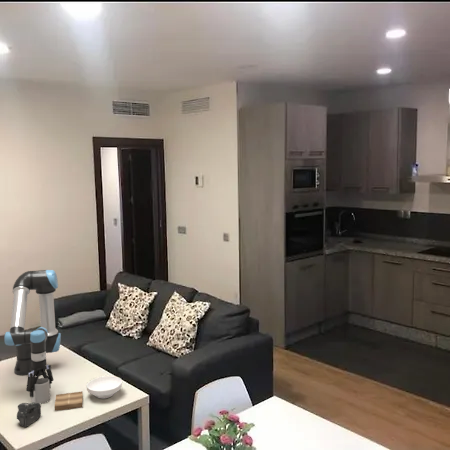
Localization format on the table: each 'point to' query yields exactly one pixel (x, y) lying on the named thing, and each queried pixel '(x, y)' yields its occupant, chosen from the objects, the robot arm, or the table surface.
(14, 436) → the table surface
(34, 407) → the camera
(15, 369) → the robot arm
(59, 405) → the trivet
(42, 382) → the mug
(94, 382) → the bowl
